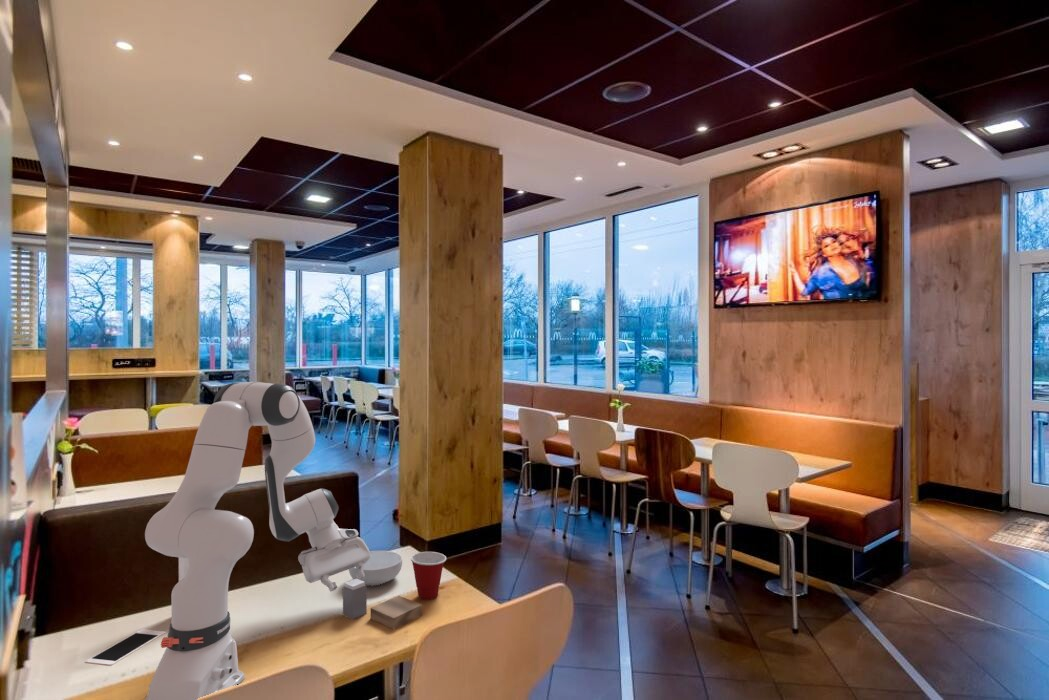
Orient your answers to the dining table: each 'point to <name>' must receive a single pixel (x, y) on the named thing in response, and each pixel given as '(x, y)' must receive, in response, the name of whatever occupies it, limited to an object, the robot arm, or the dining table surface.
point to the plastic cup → (428, 573)
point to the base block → (396, 612)
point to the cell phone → (125, 647)
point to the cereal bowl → (379, 567)
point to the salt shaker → (354, 598)
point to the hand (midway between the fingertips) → (348, 584)
